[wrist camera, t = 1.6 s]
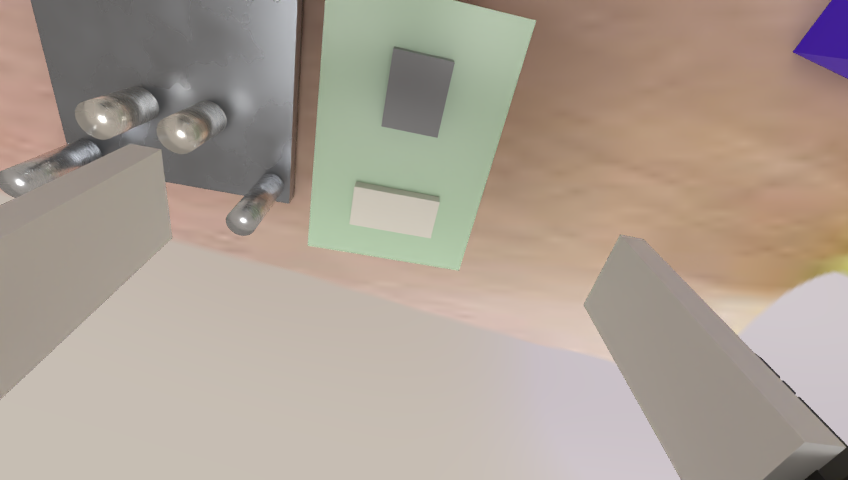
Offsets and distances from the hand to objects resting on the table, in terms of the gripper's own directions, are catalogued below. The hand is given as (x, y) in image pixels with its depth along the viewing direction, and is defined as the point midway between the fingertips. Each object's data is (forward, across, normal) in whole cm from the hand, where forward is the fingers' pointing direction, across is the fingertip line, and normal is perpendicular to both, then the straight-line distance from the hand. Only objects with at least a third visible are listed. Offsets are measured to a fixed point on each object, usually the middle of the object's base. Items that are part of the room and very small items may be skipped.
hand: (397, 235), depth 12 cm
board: (+10, 0, 0) cm, 10 cm away
